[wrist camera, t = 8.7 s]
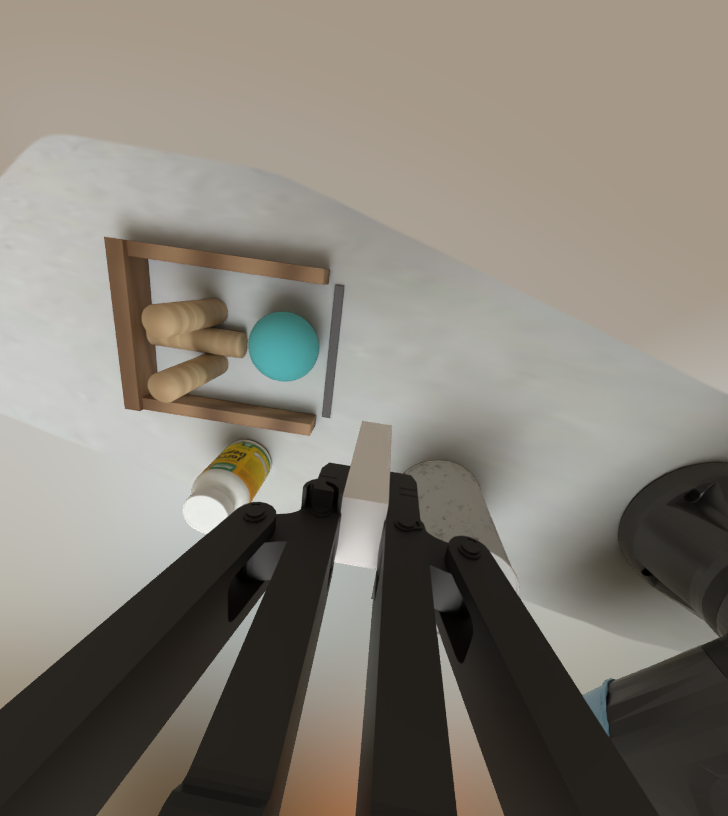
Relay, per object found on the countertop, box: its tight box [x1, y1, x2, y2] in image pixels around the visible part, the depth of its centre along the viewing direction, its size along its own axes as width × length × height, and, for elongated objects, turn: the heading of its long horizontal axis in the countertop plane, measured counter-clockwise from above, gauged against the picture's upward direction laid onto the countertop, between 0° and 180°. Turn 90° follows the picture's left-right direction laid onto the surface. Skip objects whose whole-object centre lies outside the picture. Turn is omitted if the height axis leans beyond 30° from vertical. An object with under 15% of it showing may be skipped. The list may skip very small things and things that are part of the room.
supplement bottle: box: [183, 440, 271, 534], centre depth 33 cm, size 5×5×10 cm
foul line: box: [322, 285, 344, 418], centre depth 33 cm, size 1×13×1 cm, turn 172°
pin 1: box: [142, 298, 228, 339], centre depth 29 cm, size 2×2×8 cm
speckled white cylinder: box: [403, 460, 520, 637], centre depth 32 cm, size 10×10×12 cm
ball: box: [248, 312, 319, 381], centre depth 30 cm, size 6×6×6 cm
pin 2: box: [148, 353, 228, 403], centre depth 30 cm, size 2×2×8 cm
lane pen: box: [104, 237, 330, 436], centre depth 32 cm, size 18×15×3 cm
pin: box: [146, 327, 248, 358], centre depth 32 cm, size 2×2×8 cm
